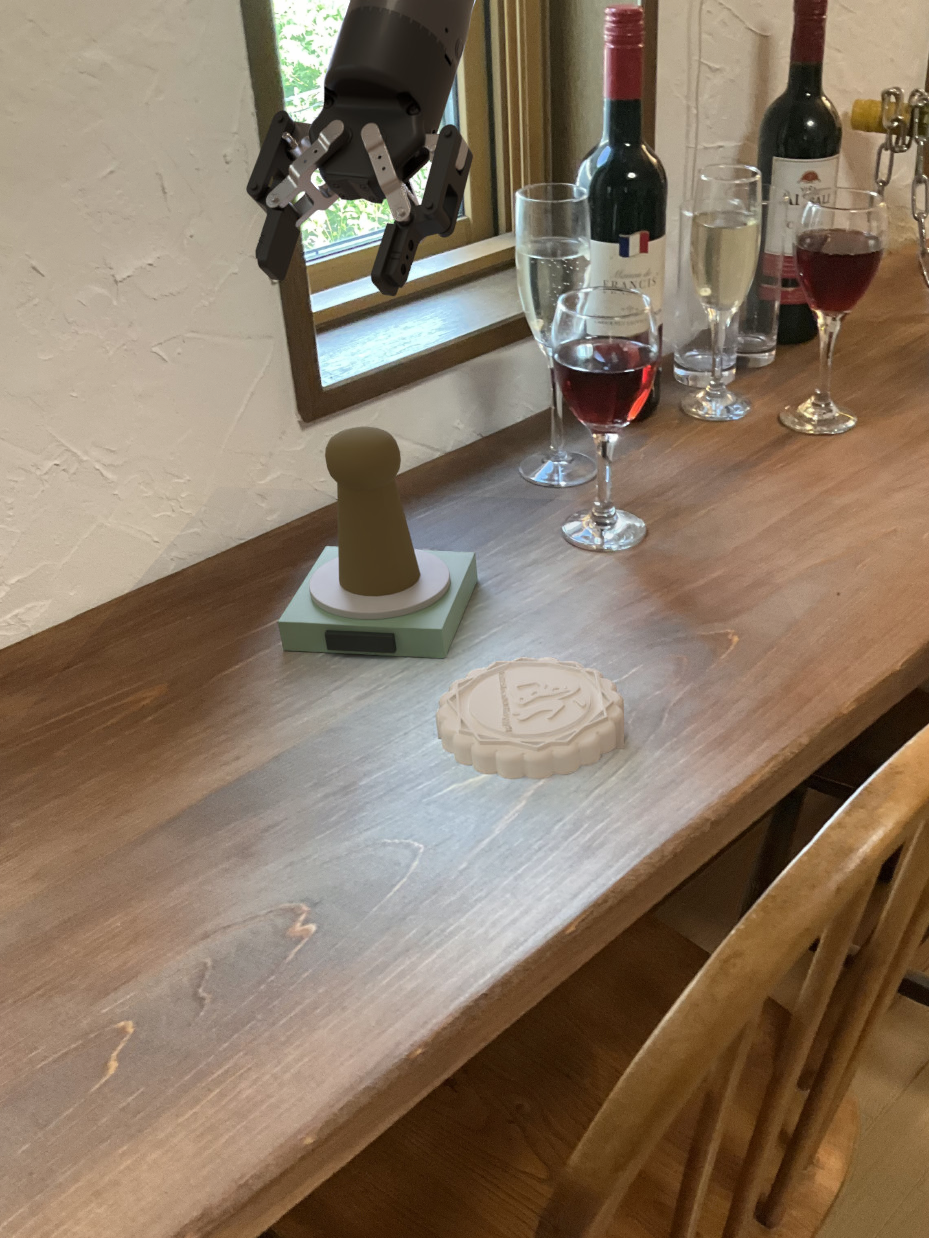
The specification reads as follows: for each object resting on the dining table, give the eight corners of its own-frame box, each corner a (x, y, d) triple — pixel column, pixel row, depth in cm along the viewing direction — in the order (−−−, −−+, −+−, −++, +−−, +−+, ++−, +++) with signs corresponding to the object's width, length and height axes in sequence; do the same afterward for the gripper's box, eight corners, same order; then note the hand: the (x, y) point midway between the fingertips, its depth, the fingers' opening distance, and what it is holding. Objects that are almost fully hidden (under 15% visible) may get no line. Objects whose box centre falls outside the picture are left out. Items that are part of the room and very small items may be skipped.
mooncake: (637, 790, 79) (637, 743, 76) (443, 809, 77) (437, 761, 75) (611, 687, 88) (610, 642, 86) (437, 702, 87) (431, 656, 84)
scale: (280, 654, 92) (273, 617, 90) (330, 573, 102) (324, 538, 100) (443, 662, 91) (439, 625, 89) (477, 579, 101) (474, 544, 99)
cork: (330, 567, 96) (306, 425, 89) (407, 552, 98) (390, 411, 91) (349, 602, 92) (326, 456, 85) (430, 586, 93) (414, 441, 87)
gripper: (277, -3, 80) (198, 236, 79) (474, 6, 75) (393, 259, 74) (337, 80, 87) (265, 300, 86) (521, 93, 83) (448, 326, 81)
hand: (325, 281), depth 80 cm, fingers open, 8 cm apart
